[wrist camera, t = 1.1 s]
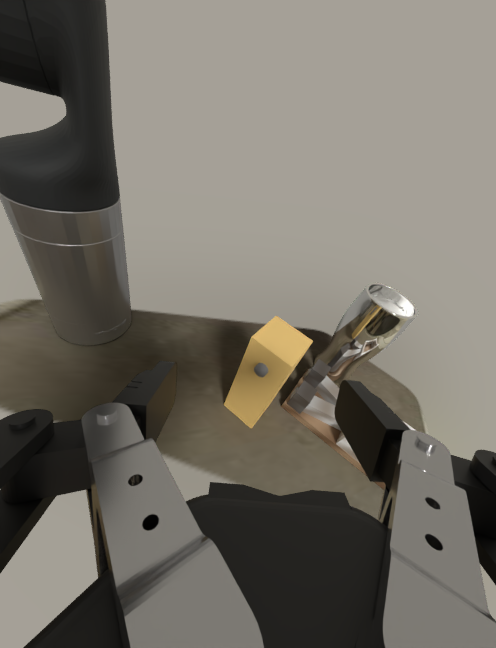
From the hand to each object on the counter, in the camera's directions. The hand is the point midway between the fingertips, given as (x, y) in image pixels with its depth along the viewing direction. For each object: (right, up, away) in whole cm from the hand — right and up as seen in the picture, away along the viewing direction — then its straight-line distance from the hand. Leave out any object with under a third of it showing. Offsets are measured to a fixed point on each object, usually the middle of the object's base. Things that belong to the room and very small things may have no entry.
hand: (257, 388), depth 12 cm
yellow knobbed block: (0, -7, +19) cm, 21 cm away
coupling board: (+12, -11, +21) cm, 26 cm away
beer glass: (+13, -4, +28) cm, 31 cm away
